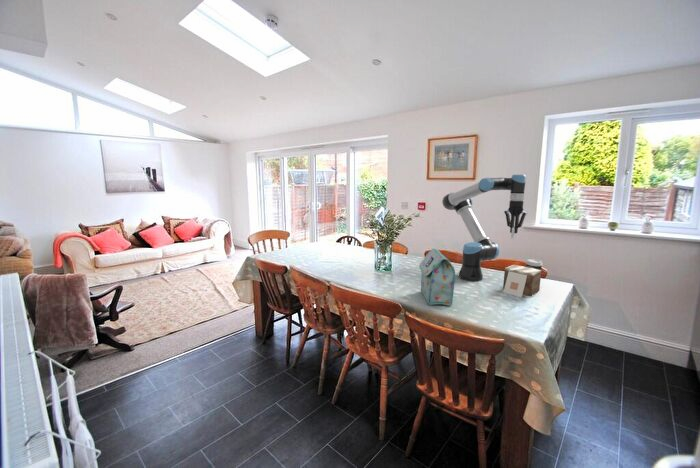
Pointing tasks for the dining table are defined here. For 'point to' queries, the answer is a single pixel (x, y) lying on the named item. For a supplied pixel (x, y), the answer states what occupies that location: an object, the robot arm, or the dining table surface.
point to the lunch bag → (437, 278)
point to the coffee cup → (534, 264)
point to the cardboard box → (531, 281)
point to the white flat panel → (515, 284)
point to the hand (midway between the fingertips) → (513, 238)
